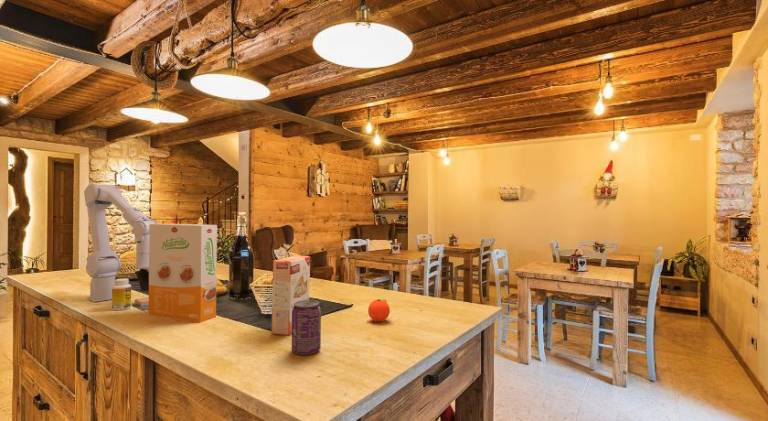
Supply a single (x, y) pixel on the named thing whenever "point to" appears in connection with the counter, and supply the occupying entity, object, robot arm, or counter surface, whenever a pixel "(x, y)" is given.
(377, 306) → the clementine
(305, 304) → the beverage can
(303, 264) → the cracker box
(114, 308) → the supplement bottle
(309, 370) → the counter surface
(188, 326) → the counter surface
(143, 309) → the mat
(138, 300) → the tile
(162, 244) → the cereal box
